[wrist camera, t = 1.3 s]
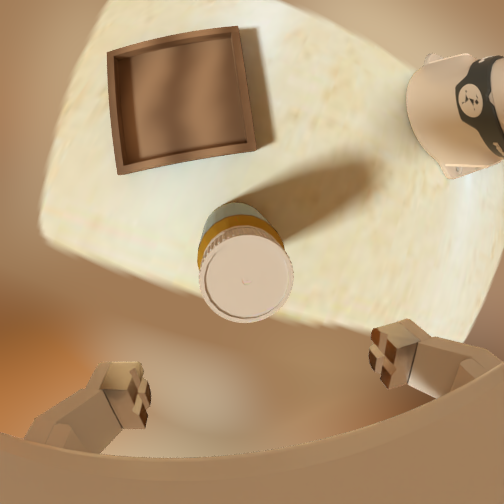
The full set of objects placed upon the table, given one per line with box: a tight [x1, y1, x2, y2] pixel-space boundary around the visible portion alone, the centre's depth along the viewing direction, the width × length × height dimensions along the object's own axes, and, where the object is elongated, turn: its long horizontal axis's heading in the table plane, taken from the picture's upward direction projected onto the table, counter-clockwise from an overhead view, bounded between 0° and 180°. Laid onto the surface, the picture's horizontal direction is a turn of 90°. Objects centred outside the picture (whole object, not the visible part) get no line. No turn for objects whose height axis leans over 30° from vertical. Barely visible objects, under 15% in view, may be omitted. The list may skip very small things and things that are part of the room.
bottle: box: [197, 202, 294, 323], centre depth 26 cm, size 7×7×15 cm
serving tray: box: [107, 26, 257, 175], centre depth 27 cm, size 15×15×2 cm
